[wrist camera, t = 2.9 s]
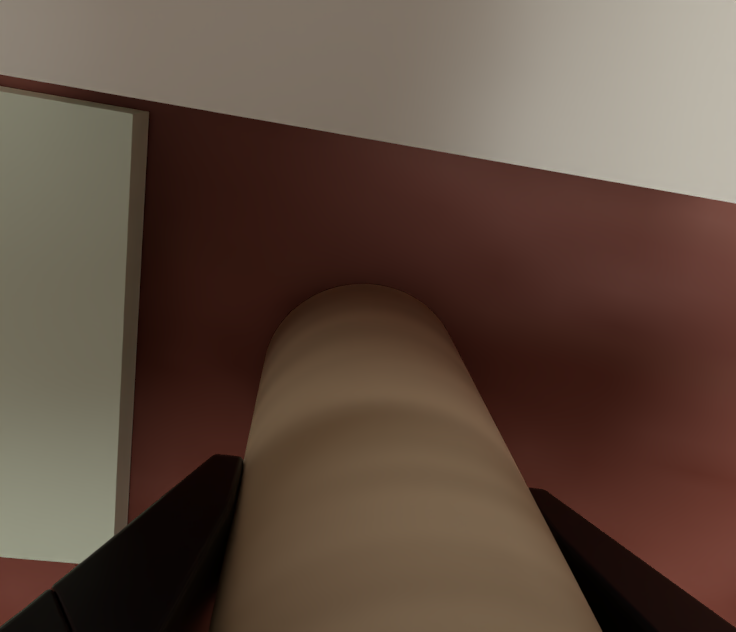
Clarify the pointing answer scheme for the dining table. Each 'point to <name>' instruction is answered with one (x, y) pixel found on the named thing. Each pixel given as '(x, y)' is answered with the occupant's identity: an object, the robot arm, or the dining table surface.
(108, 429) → the rest pad
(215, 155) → the dining table surface
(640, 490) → the dining table surface
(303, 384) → the tan cylinder
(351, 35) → the box
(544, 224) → the dining table surface
